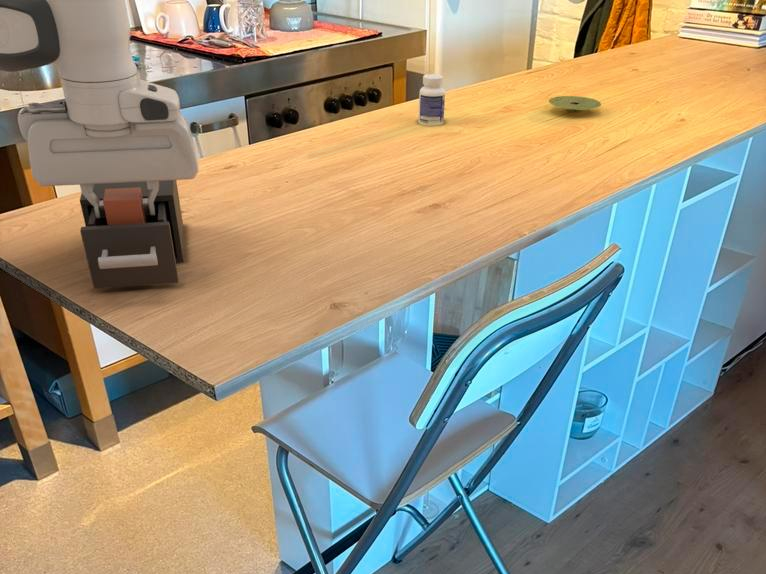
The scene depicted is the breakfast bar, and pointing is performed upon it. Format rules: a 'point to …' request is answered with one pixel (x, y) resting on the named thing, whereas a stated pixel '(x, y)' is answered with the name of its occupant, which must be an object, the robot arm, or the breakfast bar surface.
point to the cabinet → (165, 193)
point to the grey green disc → (574, 103)
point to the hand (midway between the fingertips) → (126, 215)
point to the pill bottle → (431, 101)
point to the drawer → (130, 251)
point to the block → (123, 206)
